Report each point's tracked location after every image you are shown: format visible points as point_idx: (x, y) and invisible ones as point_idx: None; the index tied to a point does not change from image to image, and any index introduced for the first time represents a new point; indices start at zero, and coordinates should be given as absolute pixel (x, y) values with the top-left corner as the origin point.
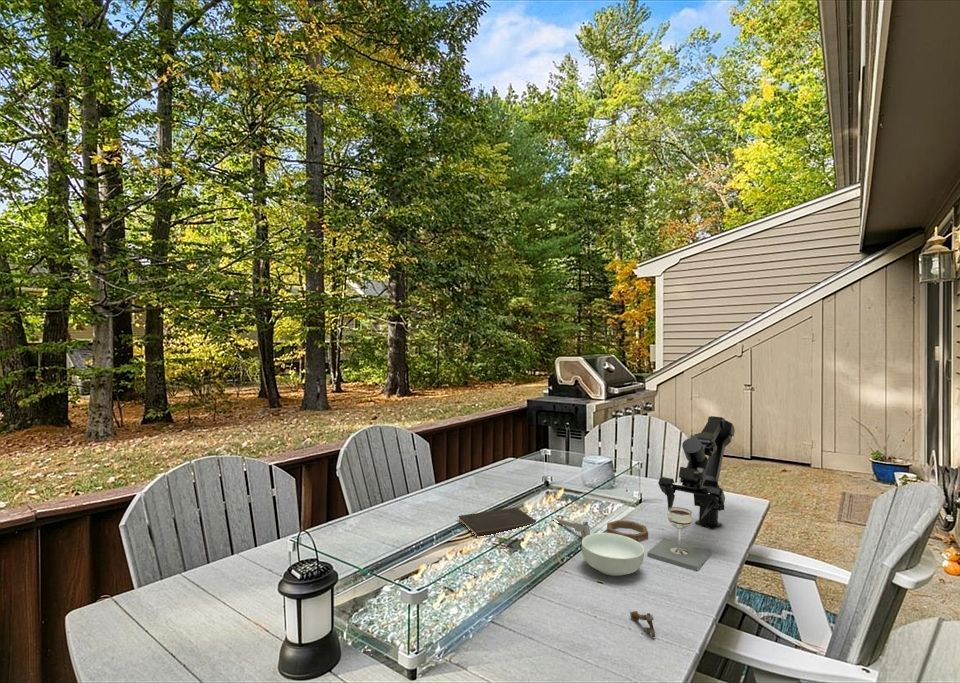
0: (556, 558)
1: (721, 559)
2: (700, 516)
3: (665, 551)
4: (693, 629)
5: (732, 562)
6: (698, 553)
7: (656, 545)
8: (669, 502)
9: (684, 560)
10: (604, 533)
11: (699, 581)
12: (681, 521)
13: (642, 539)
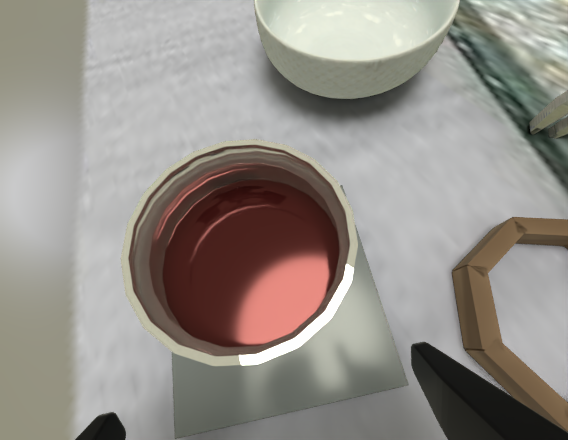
0: (461, 13)
1: (131, 419)
2: (100, 423)
3: None
4: (104, 21)
5: None
6: None
7: (364, 266)
8: (492, 406)
9: None
10: (446, 21)
11: (147, 175)
12: (202, 185)
13: (459, 303)
